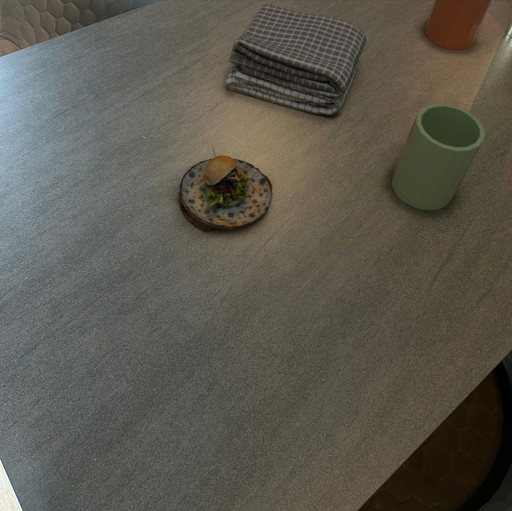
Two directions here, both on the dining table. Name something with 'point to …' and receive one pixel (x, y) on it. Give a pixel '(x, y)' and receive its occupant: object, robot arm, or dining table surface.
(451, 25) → the terracotta cup
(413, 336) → the dining table surface
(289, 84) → the towel
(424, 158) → the sage cup
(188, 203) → the burger
